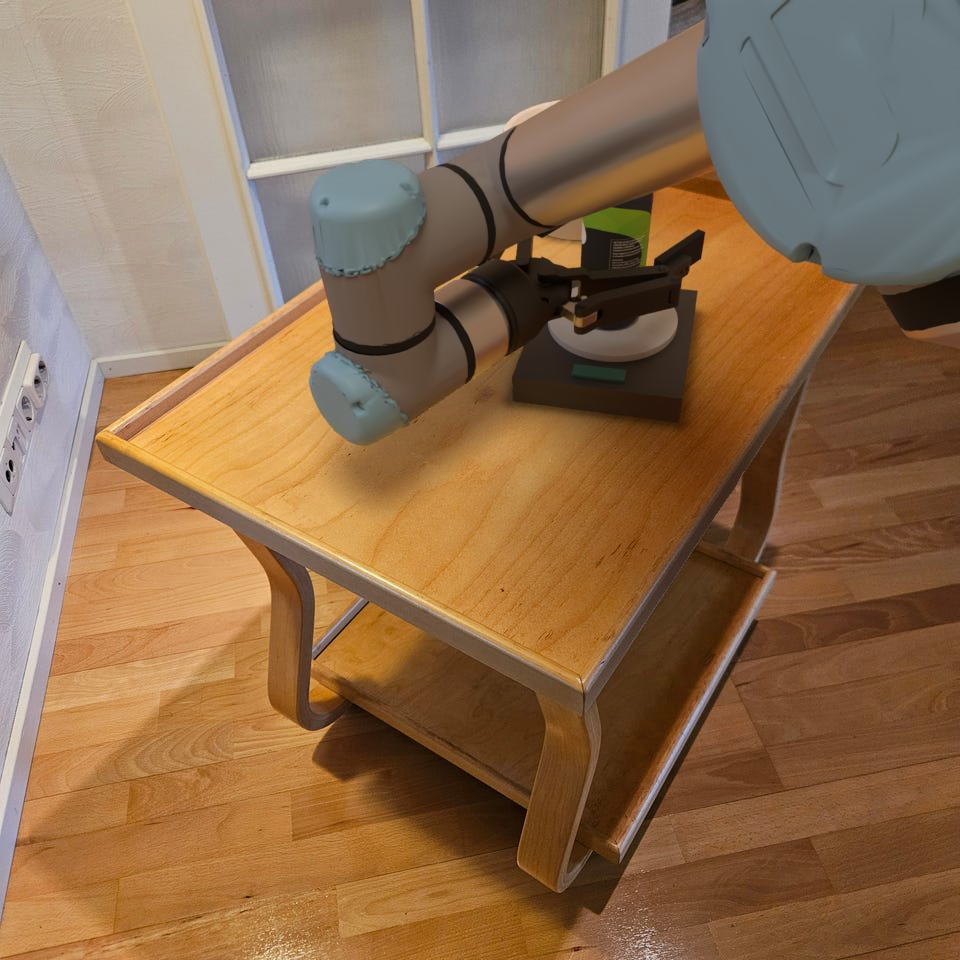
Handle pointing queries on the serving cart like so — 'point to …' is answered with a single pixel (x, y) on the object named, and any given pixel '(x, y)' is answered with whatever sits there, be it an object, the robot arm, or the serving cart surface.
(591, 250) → the beverage can
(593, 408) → the scale
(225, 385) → the serving cart surface
